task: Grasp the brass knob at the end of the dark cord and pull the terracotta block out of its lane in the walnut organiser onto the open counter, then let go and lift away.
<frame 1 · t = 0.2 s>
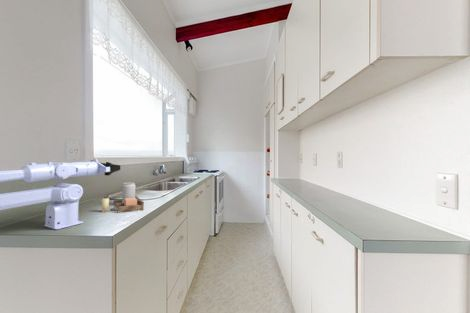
hand: (113, 166, 104), 21 cm above the worktop, tool horizontal, fingers open, 7 cm apart
tethered block: (130, 209, 113), on the worktop
lane organiser: (124, 209, 112), on the worktop
beverage can: (128, 205, 121), resting in lane organiser
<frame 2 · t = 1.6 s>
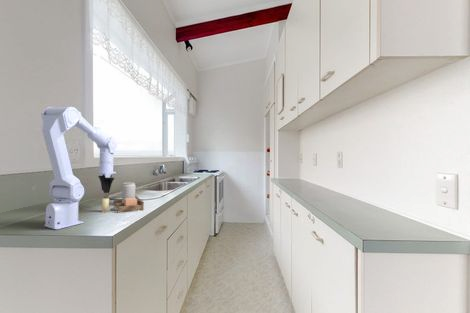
hand: (105, 191, 107), 9 cm above the worktop, tool pointing down, fingers open, 7 cm apart
nothing on the worktop moved.
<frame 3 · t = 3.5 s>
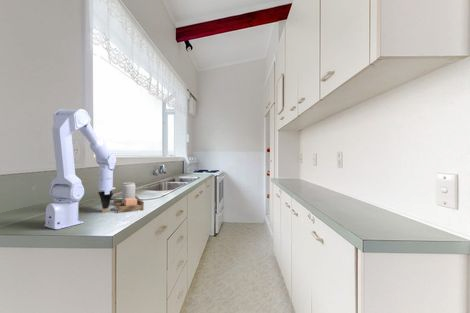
hand: (105, 207, 107), 2 cm above the worktop, tool pointing down, fingers closed on tethered block, 3 cm apart
tethered block: (130, 209, 113), on the worktop, touching gripper
everything else where it was.
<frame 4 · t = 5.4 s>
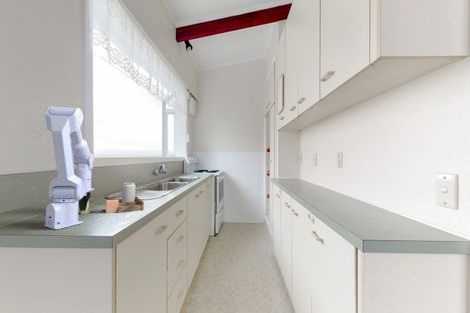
hand: (82, 209, 102), 2 cm above the worktop, tool pointing down, fingers closed on tethered block, 3 cm apart
tethered block: (112, 211, 108), on the worktop, touching gripper
everything else where it was.
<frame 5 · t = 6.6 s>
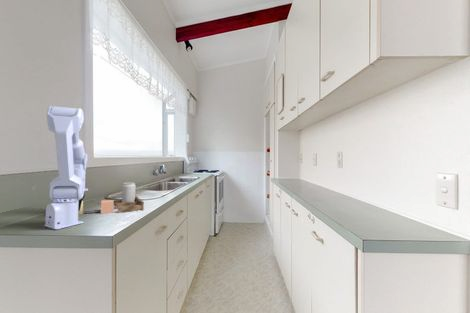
hand: (76, 210, 101), 2 cm above the worktop, tool pointing down, fingers closed on tethered block, 3 cm apart
tethered block: (107, 211, 107), on the worktop, touching gripper
everything else where it was.
when the fingers open (2 cm above the worktop, at t = 7.2 s): tethered block stays where it is, on the worktop.
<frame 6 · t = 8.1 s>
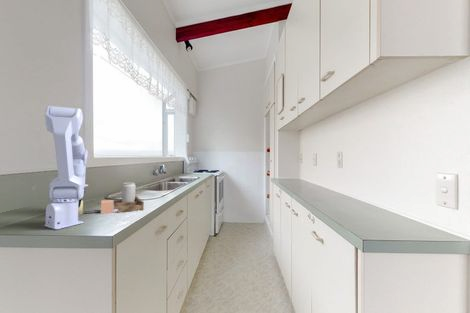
hand: (76, 205, 100), 4 cm above the worktop, tool pointing down, fingers open, 7 cm apart
tethered block: (107, 211, 107), on the worktop
everything else where it was.
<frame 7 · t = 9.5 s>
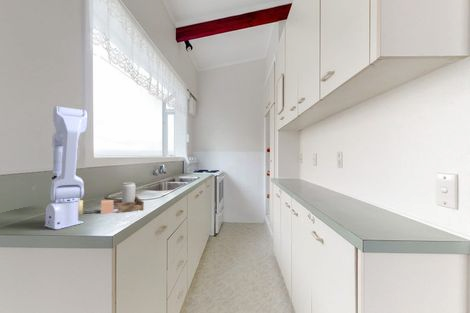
hand: (60, 191, 102), 9 cm above the worktop, tool pointing down, fingers open, 7 cm apart
nothing on the worktop moved.
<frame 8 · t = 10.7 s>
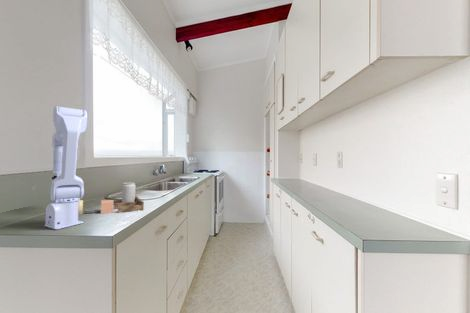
hand: (60, 191, 102), 9 cm above the worktop, tool pointing down, fingers open, 7 cm apart
nothing on the worktop moved.
at the end: tethered block moved 10.3 cm from its start; tethered block inside the target area (1.5 cm from its centre), on the worktop; the gripper is holding nothing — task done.
